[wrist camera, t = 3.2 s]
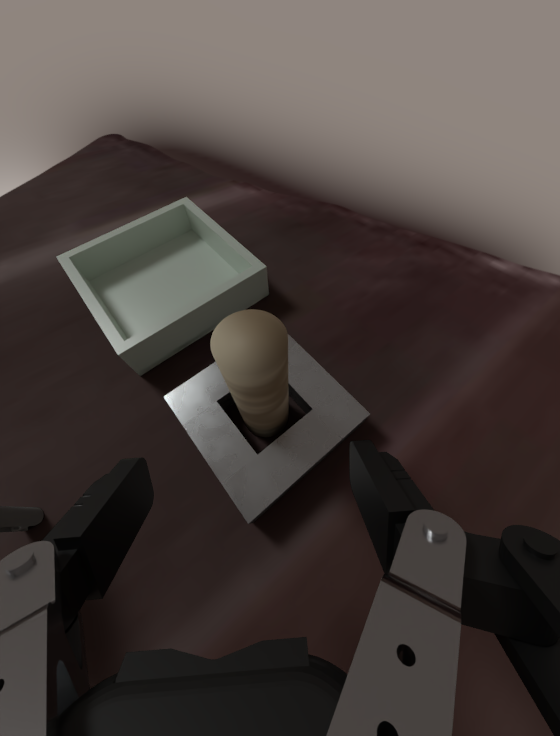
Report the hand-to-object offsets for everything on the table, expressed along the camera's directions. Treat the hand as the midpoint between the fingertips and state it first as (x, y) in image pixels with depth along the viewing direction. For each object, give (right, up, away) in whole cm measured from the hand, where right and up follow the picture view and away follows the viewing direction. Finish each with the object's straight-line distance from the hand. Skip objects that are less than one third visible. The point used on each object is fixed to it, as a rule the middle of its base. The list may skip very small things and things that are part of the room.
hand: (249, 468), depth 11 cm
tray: (-11, +13, +21) cm, 28 cm away
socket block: (0, 0, +14) cm, 14 cm away
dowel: (0, 0, +14) cm, 14 cm away
